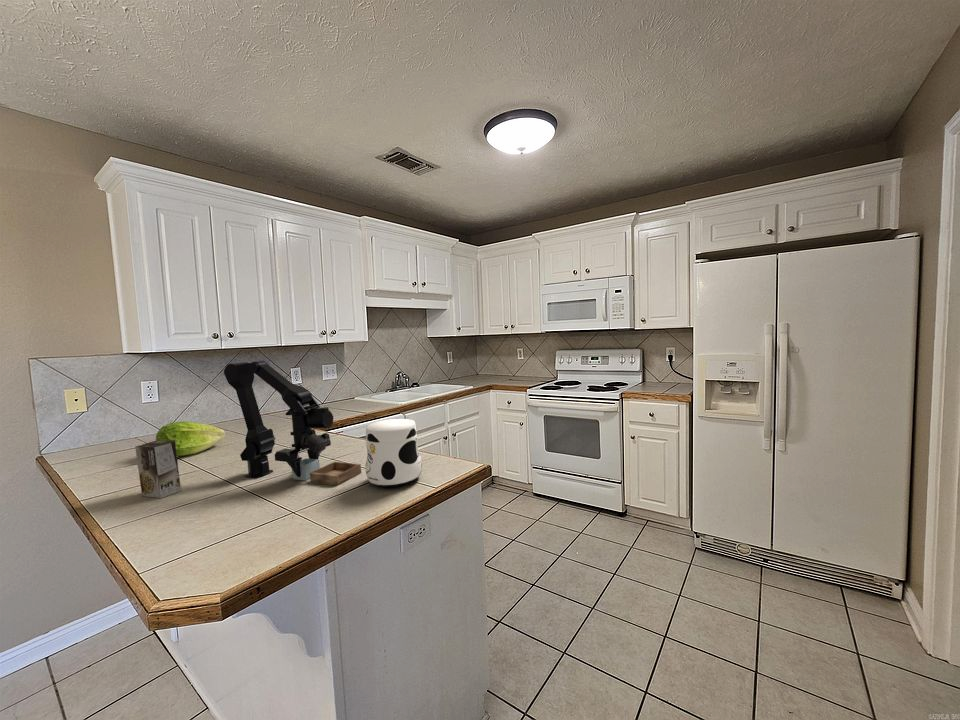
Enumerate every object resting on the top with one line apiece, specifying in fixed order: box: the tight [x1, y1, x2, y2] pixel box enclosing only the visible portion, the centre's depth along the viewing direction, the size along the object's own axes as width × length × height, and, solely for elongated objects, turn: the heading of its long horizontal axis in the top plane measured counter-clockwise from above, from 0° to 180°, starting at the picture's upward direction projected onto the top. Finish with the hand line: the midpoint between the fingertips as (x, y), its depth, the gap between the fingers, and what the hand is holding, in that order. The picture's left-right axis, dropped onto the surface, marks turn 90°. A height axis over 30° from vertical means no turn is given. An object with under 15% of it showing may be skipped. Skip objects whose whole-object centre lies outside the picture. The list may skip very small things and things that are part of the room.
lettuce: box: [155, 421, 226, 458], centre depth 171 cm, size 17×24×14 cm
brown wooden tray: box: [309, 461, 362, 487], centre depth 131 cm, size 11×11×3 cm
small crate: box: [291, 457, 321, 481], centre depth 134 cm, size 6×6×5 cm
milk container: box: [364, 418, 423, 488], centre depth 125 cm, size 17×17×18 cm
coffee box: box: [134, 440, 182, 499], centre depth 125 cm, size 9×6×16 cm
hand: (306, 473), depth 134 cm, fingers closed on small crate, 6 cm apart
